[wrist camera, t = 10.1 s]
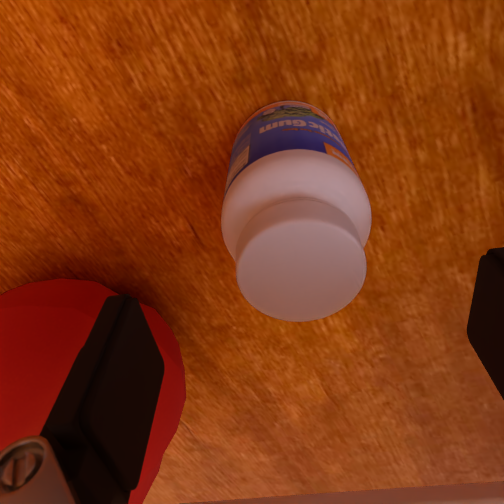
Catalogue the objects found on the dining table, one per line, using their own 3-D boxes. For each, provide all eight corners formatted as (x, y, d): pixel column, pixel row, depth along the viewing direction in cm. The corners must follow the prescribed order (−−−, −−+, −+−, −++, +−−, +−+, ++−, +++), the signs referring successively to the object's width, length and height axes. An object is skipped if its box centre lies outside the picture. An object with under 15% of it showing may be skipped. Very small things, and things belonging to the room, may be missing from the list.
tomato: (-56, 309, 26) (-234, 503, 17) (94, 200, 22) (-35, 384, 12) (96, 409, 33) (29, 592, 23) (239, 341, 28) (229, 537, 18)
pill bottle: (359, 118, 19) (432, 226, 11) (315, 213, 22) (347, 352, 14) (249, 81, 18) (243, 169, 10) (219, 186, 21) (195, 317, 13)
